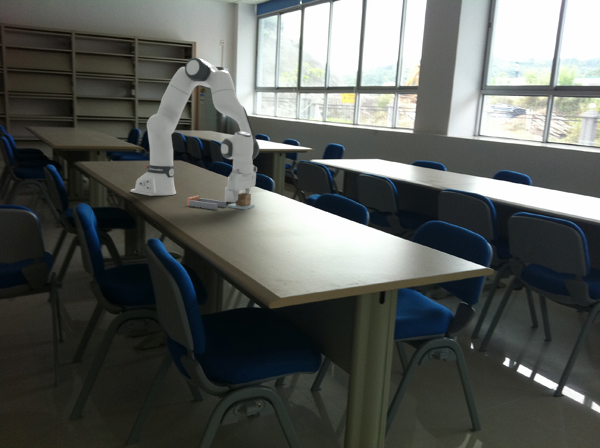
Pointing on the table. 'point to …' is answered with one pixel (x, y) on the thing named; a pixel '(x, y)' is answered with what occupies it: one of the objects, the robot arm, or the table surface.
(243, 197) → the block
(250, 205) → the tile
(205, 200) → the channel
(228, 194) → the medicine bottle
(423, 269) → the table surface
